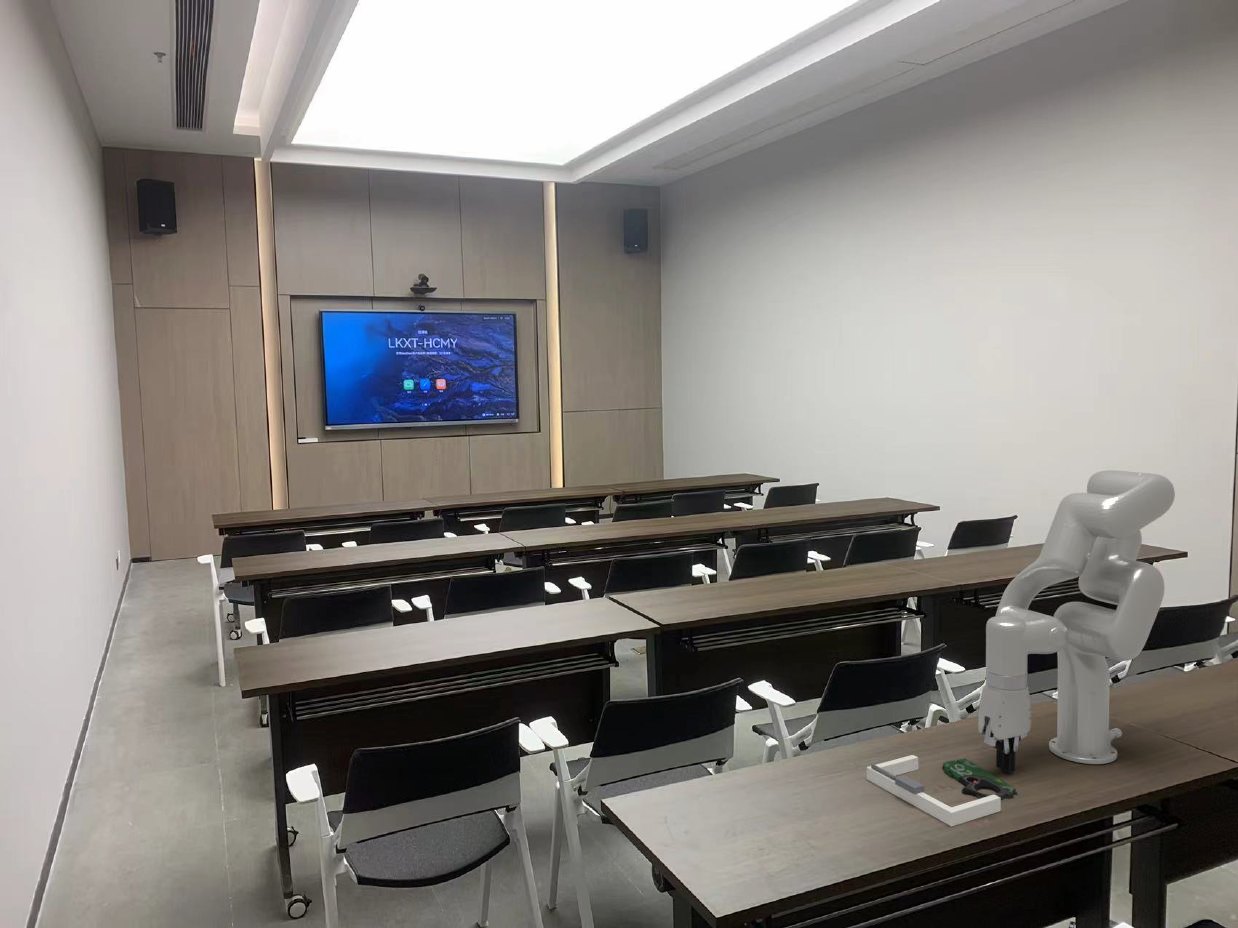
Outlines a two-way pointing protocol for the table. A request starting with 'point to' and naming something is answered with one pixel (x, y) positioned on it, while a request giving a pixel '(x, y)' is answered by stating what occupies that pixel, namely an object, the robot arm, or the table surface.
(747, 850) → the table surface
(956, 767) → the gun
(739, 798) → the table surface
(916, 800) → the white angled bar
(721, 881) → the table surface
